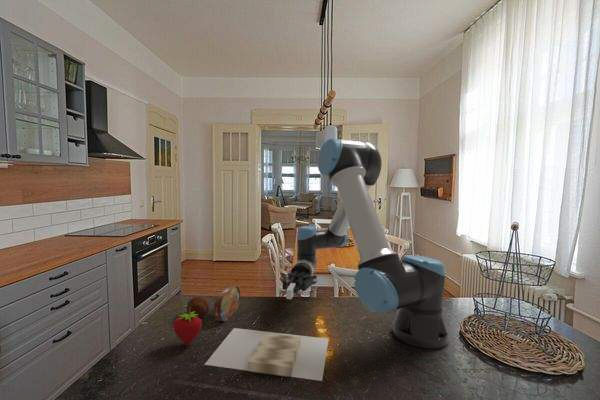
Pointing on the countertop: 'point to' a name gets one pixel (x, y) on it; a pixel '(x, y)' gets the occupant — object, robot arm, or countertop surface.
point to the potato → (198, 306)
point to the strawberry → (187, 327)
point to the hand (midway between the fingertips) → (288, 294)
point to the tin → (227, 303)
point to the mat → (245, 341)
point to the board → (275, 355)
